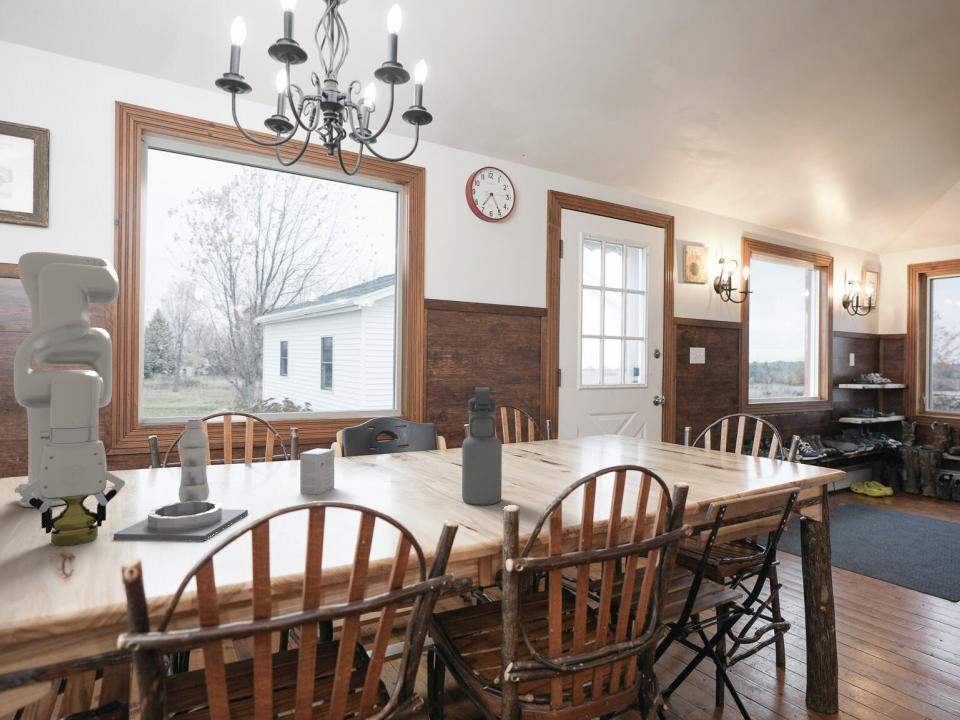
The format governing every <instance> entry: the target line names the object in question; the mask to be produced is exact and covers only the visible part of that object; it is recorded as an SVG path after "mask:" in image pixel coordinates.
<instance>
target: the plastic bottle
mask: <svg viewBox="0 0 960 720" xmlns="http://www.w3.org/2000/svg"><path fill="white" fill-rule="evenodd" d="M184 423H185V426H184V430H185V432H184V433H183V434H182V435H181V437H180V438H179V441H178V450H179V456H180V465H181V467H180V468H181V472H180V473H181V474H180V485H179V487H178V499H179V502H186V501H208V499H209V497H210V496H209V495H210V488H209V487H210V486H209V482H208V473H207V463H208V462H207V460H208V451H209V446H210V445H209V444H210V441H209V438H208V436H207V435H206V433H205V432H204V431H203V428H204V425H203V423H204V422H203V419H186V420H185V422H184Z"/></svg>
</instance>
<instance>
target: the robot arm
mask: <svg viewBox="0 0 960 720" xmlns="http://www.w3.org/2000/svg"><path fill="white" fill-rule="evenodd" d="M17 268H18V276H19V279H20V283H21V284H22V287H23V289H24V292H25V293H26V296H27V298H28V300H29V303H30V307H31V308H30V309H31V333H29V335H28V336H27V337H26V338H25V339H24V340H23V341H22V342H21V343H20V344H19V346H18V348H17V350H16V352H15V354H14V360H13V388H14V389H13V392H14V397H15V400H16V402H17V403H18V404H19V406H21V407H23V408H26V414H27V429H28V430H27V431H28V432H27V436H28V437H27V438H28V439H27V440H28V441H27V444H28V445H27V450H28V451H27V453H28V454H27V455H28V456H27V457H28V458H27V460H28V461H27V462H28V463H27V465H28V466H27V469H28V470H27V471H28V473H27V478H28V479H27V482H28V483H20V484H18V486H16V487H15V488H14V492H15V494H19V495H20V496H21V498H20V499H19V505H20V506H21V507H25V508H35V509H37V510H38V512H40V513H41V522H40V523H41V526H40V527H41V529H45V534H51V532H52V531H53V528H52V527H51V520H52V519H53V508H52V507H53V506H54V507H55V506H61V505H66V503H65V502H64V501H63V500H61V499H60V498H70V497H79V496H88V495H90V496H94V497H95V499H96V500H97V502H98V503H97V504H96V513H97V521H96V524H97V526H98V528H101V527H102V523H103V521H107V504H108V503H109V502H110V501H111V500H112V499H113V498H114V497H116V496H117V494H119V492H120V491H121V490H122V488H123V487H124V486H125V485H126V481H125V480H124V479H122V478H120V477H119V476H118V475H115V474H114V473H112V472H110V471H109V470H107V455H106V449H105V445H104V441H103V440H99V432H100V431H99V430H100V428H99V427H100V426H99V425H100V424H99V422H100V420H99V414H100V413H99V408H103V407H107V406H108V405H109V404H110V403H111V400H112V396H113V395H112V394H113V342H112V338H111V335H110V334H109V332H108V331H107V330H106V329H103V328H101V327H91V320H90V319H91V318H90V310H89V308H90V307H89V304H101V305H102V304H104V305H111V304H113V303H115V302H116V301H117V299H118V297H119V294H120V282H119V278H118V275H117V272H116V270H115V269H114V267H113V266H112V264H111V263H110V262H109V261H108V260H106V259H104V258H101V257H95V256H84V255H78V254H77V255H75V254H74V255H73V254H66V253H60V252H59V253H58V252H46V251H45V252H44V251H33V252H27V253H26V252H25V253H24V254H22V255H20V257H18V262H17ZM33 359H34V360H35V362H37V363H38V364H41V365H44V366H46V365H47V366H87V367H88V368H90V369H32V368H33V367H32V363H33ZM107 481H109V483H111V484H114V485H113V487H112V488H111V489H110V490H109V491H108V492H107V493H106V494H105V490H106V489H107V484H108V483H107ZM88 497H89V496H88Z"/></svg>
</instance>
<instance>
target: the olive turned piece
mask: <svg viewBox="0 0 960 720" xmlns="http://www.w3.org/2000/svg"><path fill="white" fill-rule="evenodd" d="M89 496H91V495H88V496H79V497H70V498H60V499H61V500H63V501H64V502H65V503H66V504H65V505H66V506H65V507H64V509H63V510H61V511H60V512H59V514H57V515H56V516H54V517H52V520H51V527H52V530H51V532H50V536H51V537H50V542H51V544H52V545H53V546H60V547H64V546H77V545H79V544H84V543H85V544H86V543H88V542H91V541H92V540H95V539H96V538H98V536H99V527H98V526H97V511H96V512H95V511H93V510H91V509H90V508H89V507H87V506H86V505H85V503H84V502H85V501H86V499H87V498H89Z"/></svg>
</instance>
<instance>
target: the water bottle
mask: <svg viewBox="0 0 960 720" xmlns="http://www.w3.org/2000/svg"><path fill="white" fill-rule="evenodd" d="M474 391H475V397H473V398H470V399H469V400H467V404H468V405H467V413H468V436H467V437H466V438H464V439H463V441H462V448H461V449H462V450H461V451H462V453H461V456H462V458H461V459H462V460H461V462H462V463H461V464H462V465H461V476H462V477H461V497H462V501H464V503H466V504H468V505H469V504H470V505H474V506H475V505H476V506H490V505H495V504H497V503H499V502H500V501H501V500H502V489H503V487H502V484H503V483H502V477H503V476H502V473H503V472H502V471H503V470H502V468H503V467H502V464H503V462H502V460H503V459H502V457H503V455H502V451H503V449H502V448H503V445H502V441H501V440H500V438H498V437H497V435H496V413H497V400H496V399H495V398H492V397H490V396H491V394H490V392H491V391H490V386H475V387H474Z"/></svg>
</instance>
